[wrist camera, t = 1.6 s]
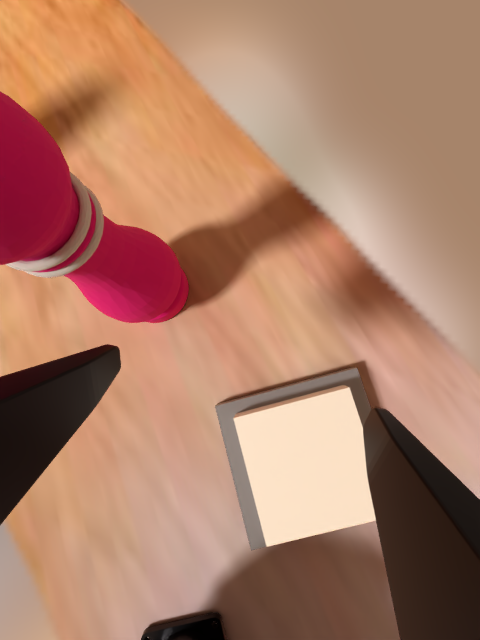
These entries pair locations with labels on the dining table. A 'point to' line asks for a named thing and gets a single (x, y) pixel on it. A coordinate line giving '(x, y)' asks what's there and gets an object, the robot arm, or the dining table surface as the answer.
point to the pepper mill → (77, 230)
